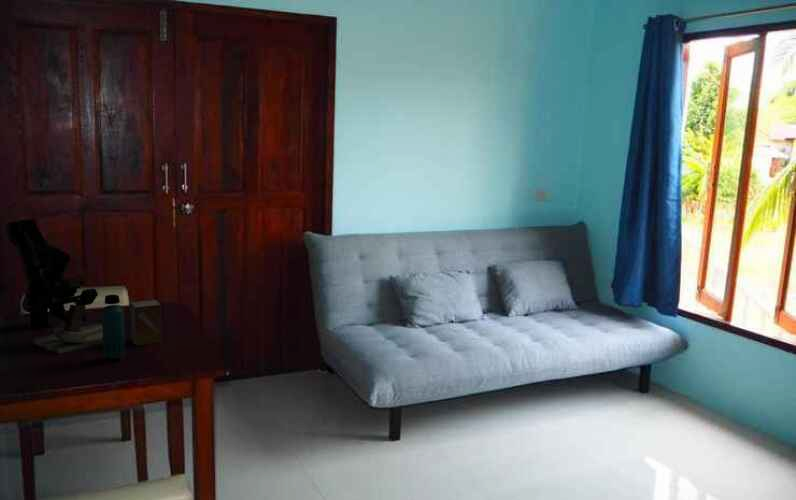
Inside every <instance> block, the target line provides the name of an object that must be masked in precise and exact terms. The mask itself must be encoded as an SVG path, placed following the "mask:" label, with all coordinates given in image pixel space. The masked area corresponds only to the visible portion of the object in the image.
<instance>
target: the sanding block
mask: <svg viewBox="0 0 796 500" xmlns="http://www.w3.org/2000/svg"><path fill="white" fill-rule="evenodd" d="M84 311H86V306H85V307H82V306H78V305H75V304H70V305H69V309H68V312H67V314H68V315H69V317H70V319H71V321H72V324H71V325H69V324H67V323H66V322H64V327H57V326H55V328H54V331H53V334H54V335H53V336H54V337H57V338H59V339H61V340H63V341H66V342H72V343H85V341H86V337H87V334H84V333H82V332H80V331H79V330H80V328H81V327H82V326H81V325H82V323H83V320H82V319H83V315H84Z"/></svg>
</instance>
